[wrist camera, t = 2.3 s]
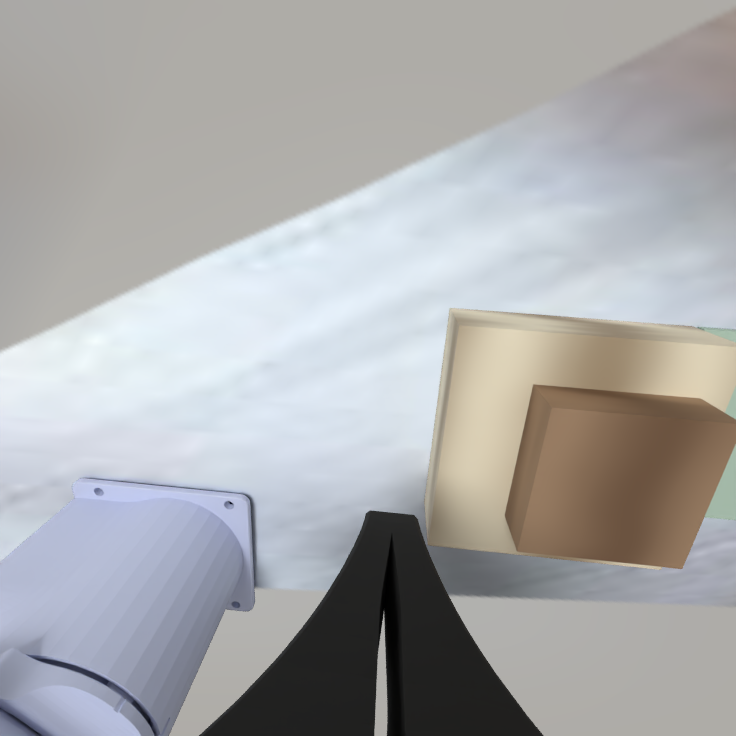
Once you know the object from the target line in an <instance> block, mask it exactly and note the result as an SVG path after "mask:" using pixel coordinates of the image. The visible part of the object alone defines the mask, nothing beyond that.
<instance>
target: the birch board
mask: <svg viewBox="0 0 736 736" xmlns="http://www.w3.org/2000/svg"><path fill="white" fill-rule="evenodd" d="M533 384H536V385H548V386H560V387H572V388H583V389H595V390H607V391H619V392H631V393H643V394H654V395H666V396H678V397H690V398H701V399H703V400H704V401H706V402H708V403H709V404H711V405H713V406H714V407H716V408H718V409H719V410H721V411H723V412H724V413H725V411H726V409H727V406H728V404H729V401H730V399H731V396H732V394H733V391H734V389H735V386H736V342H733V341H730V340H728V339H725V338H722V337H720V336H717V335H714V334H712V333H709V332H706V331H704V330H701V329H698V328H696V327H692V326H679V325H666V324H653V323H640V322H626V321H613V320H600V319H587V318H574V317H561V316H548V315H535V314H522V313H508V312H495V311H482V310H469V309H456V308H450V311H449V319H448V326H447V334H446V341H445V349H444V356H443V364H442V371H441V379H440V386H439V394H438V401H437V409H436V417H435V424H434V432H433V439H432V447H431V454H430V462H429V469H428V477H427V484H426V492H425V499H424V504H425V517H426V529H427V541H428V545H430V546H440V547H449V548H459V549H468V550H478V551H487V552H497V553H506V554H516V555H525V556H535V557H544V558H554V559H563V560H573V561H582V562H592V563H601V564H611V565H620V566H630V567H639V568H649V569H658V570H661V569H662V567H658V566H649V565H639V564H630V563H620V562H611V561H601V560H592V559H582V558H572V557H563V556H553V555H544V554H534V553H525V552H517V550H516V547H515V544H514V541H513V539H512V536H511V533H510V530H509V527H508V524H507V521H506V518H505V511H506V506H507V502H508V497H509V493H510V488H511V484H512V479H513V474H514V470H515V465H516V461H517V456H518V452H519V447H520V442H521V438H522V433H523V429H524V424H525V420H526V415H527V410H528V406H529V401H530V397H531V392H532V388H533Z"/></svg>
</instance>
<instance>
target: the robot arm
mask: <svg viewBox="0 0 736 736" xmlns="http://www.w3.org/2000/svg"><path fill="white" fill-rule="evenodd" d="M101 489H102V490H103V491H102V490H101ZM72 490H73V495H74V499H73V500H72V501H70V502H69V503H68V504H67V505H66V506H65V507H63V508H62V509H61V510H60V511H59V512H58V513H56V514H55V515H54V516H53V517H52V518H51V519H50V520H48V521H47V522H46V523H45V524H44V525H43V526H41V527H40V528H39V529H38V530H37V531H36V532H34V533H33V534H32V535H31V536H30V537H29V538H27V539H26V540H25V541H24V542H23V543H22V544H20V545H19V546H18V547H17V548H16V549H15V550H13V551H12V552H11V553H10V554H9V555H8V556H6V557H5V558H4V559H3V560H2V561H1V562H0V736H169V734H170V732H171V729H172V727H173V725H174V723H175V721H176V718H177V716H178V714H179V712H180V709H181V707H182V705H183V703H184V701H185V698H186V696H187V694H188V691H189V689H190V687H191V685H192V682H193V680H194V678H195V676H196V674H197V672H198V669H199V667H200V665H201V663H202V660H203V658H204V656H205V654H206V651H207V649H208V647H209V645H210V642H211V640H212V638H213V636H214V634H215V631H216V629H217V627H218V625H219V622H220V620H221V618H222V616H223V614H224V611H225V609H228V610H237V611H250V610H251V609H252V608H253V606H254V603H255V592H254V571H253V550H252V528H251V507H250V500H249V499H248V497H246V496H245V495H242V494H235V493H225V492H215V491H205V490H196V489H186V488H176V487H166V486H156V485H146V484H136V483H126V482H117V481H107V480H97V479H87V478H80V479H78V480H77V481H76V482H74V483H73V485H72ZM228 501H230V502H232V503H233V505H232V504H229V503H228ZM383 613H384V615H385V616H384V617H385V646H386V669H387V670H386V673H387V698H388V699H387V700H388V703H387V704H388V724H387V736H543V735H542V733H541V732H540V731H539V730H538V728H537V727H536V726H535V725H534V724H533V722H532V721H531V720H530V719H529V717H528V716H527V715H526V714H525V712H524V711H523V710H522V708H521V707H520V705H519V704H518V703H517V701H516V700H515V699H514V698H513V696H512V695H511V693H510V692H509V691H508V689H507V688H506V687H505V685H504V684H503V683H502V681H501V680H500V679H499V677H498V676H497V675H496V673H495V672H494V670H493V669H492V667H491V666H490V664H489V663H488V661H487V660H486V658H485V657H484V655H483V654H482V652H481V651H480V649H479V648H478V646H477V644H476V643H475V641H474V640H473V638H472V636H471V635H470V633H469V632H468V630H467V628H466V627H465V625H464V623H463V621H462V620H461V618H460V616H459V614H458V613H457V611H456V609H455V607H454V605H453V603H452V601H451V599H450V598H449V596H448V594H447V592H446V590H445V588H444V586H443V584H442V582H441V579H440V577H439V575H438V573H437V571H436V568H435V566H434V564H433V562H432V559H431V557H430V555H429V552H428V550H427V547H426V544H425V542H424V539H423V536H422V533H421V530H420V526H419V523H418V519H417V518H416V517H415V515H408V514H398V513H388V512H379V511H369V512H368V513H366V516H365V520H364V523H363V526H362V529H361V531H360V534H359V536H358V538H357V540H356V542H355V545H354V547H353V549H352V551H351V552H350V554H349V556H348V558H347V560H346V562H345V564H344V566H343V568H342V569H341V571H340V573H339V574H338V576H337V578H336V579H335V581H334V582H333V584H332V586H331V587H330V589H329V590H328V592H327V594H326V595H325V597H324V598H323V600H322V601H321V603H320V604H319V606H318V607H317V608H316V610H315V611H314V613H313V614H312V615H311V617H310V618H309V619H308V621H307V622H306V623H305V625H304V626H303V628H302V629H301V630H300V631H299V632H298V633H297V635H296V636H295V637H294V639H293V640H292V641H291V642H290V643H289V645H288V646H287V647H286V648H285V650H284V651H283V652H282V653H281V654H280V655H279V656H278V658H277V659H276V660H275V661H274V662H273V663H272V664H271V665H270V666H269V668H268V669H267V670H266V671H265V672H264V673H263V674H262V675H261V676H260V677H259V678H258V679H257V680H256V681H255V683H253V685H252V686H251V687H250V688H249V689H248V690H247V691H246V692H245V693H244V694H243V695H242V696H241V697H240V698H239V699H238V700H237V701H236V702H235V703H234V704H233V705H232V706H231V707H230V708H229V709H227V710H226V712H224V713H223V714H222V715H221V716H220V717H219V718H218V719H217V720H216V721H215V722H214V723H212V724H211V725H210V726H209V727H208V728H207V729H206V730H205V731H204V732H203V733H202V734H200V735H199V736H374V726H375V702H376V701H375V700H376V679H377V658H378V648H379V641H380V634H381V627H382V620H383Z"/></svg>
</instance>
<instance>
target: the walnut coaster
mask: <svg viewBox="0 0 736 736" xmlns="http://www.w3.org/2000/svg"><path fill="white" fill-rule="evenodd" d="M735 444H736V419H734V418H733V417H731V416H729V415H728V414H726V413H724V412H723V411H721V410H719V409H718V408H716V407H714V406H713V405H711V404H709V403H708V402H706V401H704V400H703V399H701V398H690V397H678V396H666V395H654V394H643V393H631V392H619V391H607V390H595V389H583V388H572V387H560V386H548V385H536V384H533V388H532V392H531V397H530V401H529V406H528V410H527V415H526V420H525V424H524V429H523V433H522V438H521V442H520V447H519V452H518V456H517V461H516V465H515V470H514V474H513V479H512V484H511V488H510V493H509V497H508V502H507V506H506V511H505V518H506V521H507V524H508V527H509V530H510V533H511V536H512V539H513V541H514V544H515V547H516V550H517V552H525V553H534V554H544V555H553V556H563V557H572V558H582V559H592V560H601V561H611V562H620V563H630V564H639V565H649V566H658V567H668V568H677V569H682V568H683V566H684V563H685V561H686V559H687V556H688V554H689V552H690V549H691V547H692V545H693V542H694V540H695V538H696V535H697V533H698V531H699V528H700V526H701V524H702V521H703V519H704V517H705V514H706V512H707V510H708V507H709V505H710V503H711V500H712V498H713V496H714V493H715V491H716V489H717V486H718V484H719V482H720V479H721V477H722V475H723V472H724V470H725V468H726V465H727V463H728V461H729V458H730V456H731V454H732V451H733V449H734V447H735Z"/></svg>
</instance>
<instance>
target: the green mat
mask: <svg viewBox="0 0 736 736" xmlns="http://www.w3.org/2000/svg"><path fill="white" fill-rule="evenodd" d="M698 329H701V330H704V331H706V332H709V333H712V334H714V335H717V336H720V337H722V338H725V339H728V340H730V341H733V342H736V330H731V329H718V328H705V327H698ZM725 413H726V414H728V415H729V416H731V417H733V418H734V419H736V386H735V389H734V391H733V394H732V396H731V399H730V401H729V404H728V406H727V409H726V411H725ZM705 517H708V518H718V519H728V520H736V444H735V447H734V449H733V451H732V454H731V456H730V458H729V461H728V463H727V465H726V468H725V470H724V472H723V475H722V477H721V479H720V482H719V484H718V486H717V489H716V491H715V493H714V496H713V498H712V500H711V503H710V505H709V507H708V510H707V512H706V514H705Z"/></svg>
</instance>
